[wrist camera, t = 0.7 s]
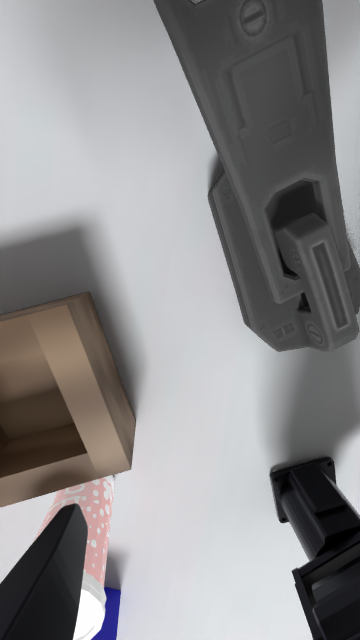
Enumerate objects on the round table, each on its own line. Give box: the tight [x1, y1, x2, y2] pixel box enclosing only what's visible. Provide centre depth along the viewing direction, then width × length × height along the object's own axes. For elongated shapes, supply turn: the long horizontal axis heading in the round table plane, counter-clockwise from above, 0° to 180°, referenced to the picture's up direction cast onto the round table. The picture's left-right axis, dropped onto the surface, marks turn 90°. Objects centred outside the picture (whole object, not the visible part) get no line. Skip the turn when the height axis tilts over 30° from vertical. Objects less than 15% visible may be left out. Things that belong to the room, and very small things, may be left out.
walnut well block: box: [0, 292, 136, 507], centre depth 18 cm, size 12×12×5 cm
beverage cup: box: [35, 475, 114, 640], centre depth 16 cm, size 6×6×14 cm
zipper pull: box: [154, 0, 360, 352], centre depth 15 cm, size 9×7×25 cm
